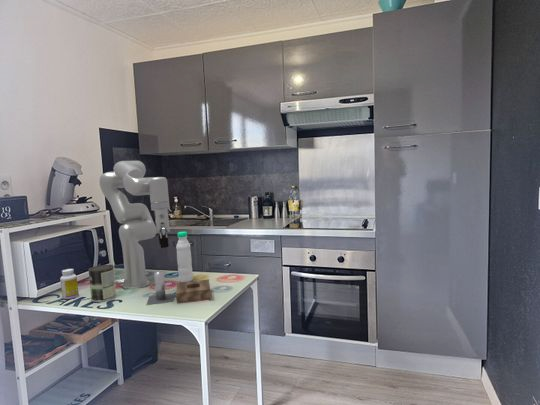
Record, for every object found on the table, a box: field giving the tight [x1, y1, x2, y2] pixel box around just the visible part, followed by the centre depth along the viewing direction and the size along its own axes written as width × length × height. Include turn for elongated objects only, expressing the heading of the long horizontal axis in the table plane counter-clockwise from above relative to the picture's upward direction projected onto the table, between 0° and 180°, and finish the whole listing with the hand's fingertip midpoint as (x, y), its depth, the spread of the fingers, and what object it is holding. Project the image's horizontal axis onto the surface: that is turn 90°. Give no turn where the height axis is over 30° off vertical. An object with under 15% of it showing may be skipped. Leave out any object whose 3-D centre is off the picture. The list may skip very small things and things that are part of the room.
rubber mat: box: [145, 292, 176, 306], centre depth 152 cm, size 11×11×1 cm
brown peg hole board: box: [175, 278, 212, 305], centre depth 154 cm, size 14×14×5 cm
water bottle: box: [175, 231, 194, 283], centre depth 177 cm, size 7×7×25 cm
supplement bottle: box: [59, 268, 80, 300], centre depth 162 cm, size 7×7×13 cm
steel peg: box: [153, 270, 167, 301], centre depth 151 cm, size 4×4×12 cm
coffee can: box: [87, 264, 117, 303], centre depth 159 cm, size 10×10×14 cm
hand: (163, 245), depth 151 cm, fingers open, 9 cm apart
